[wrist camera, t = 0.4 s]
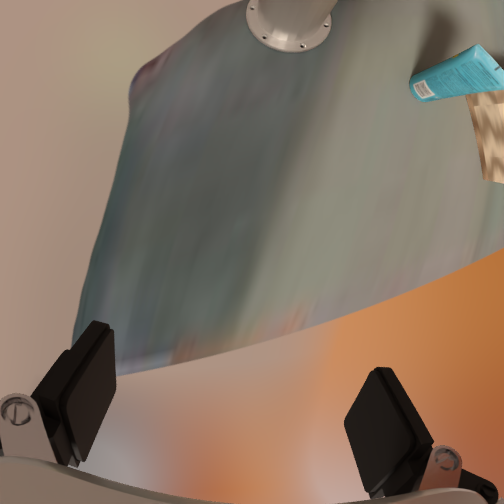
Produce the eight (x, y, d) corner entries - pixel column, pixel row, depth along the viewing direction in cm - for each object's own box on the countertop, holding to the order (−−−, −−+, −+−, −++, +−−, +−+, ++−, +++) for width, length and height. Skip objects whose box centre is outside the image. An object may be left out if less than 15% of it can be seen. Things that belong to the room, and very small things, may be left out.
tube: (440, 88, 39) (519, 72, 21) (433, 111, 40) (515, 102, 22) (406, 64, 38) (480, 32, 20) (398, 87, 39) (474, 62, 21)
